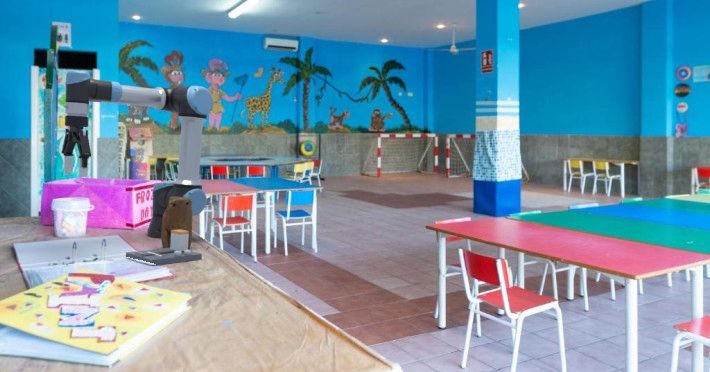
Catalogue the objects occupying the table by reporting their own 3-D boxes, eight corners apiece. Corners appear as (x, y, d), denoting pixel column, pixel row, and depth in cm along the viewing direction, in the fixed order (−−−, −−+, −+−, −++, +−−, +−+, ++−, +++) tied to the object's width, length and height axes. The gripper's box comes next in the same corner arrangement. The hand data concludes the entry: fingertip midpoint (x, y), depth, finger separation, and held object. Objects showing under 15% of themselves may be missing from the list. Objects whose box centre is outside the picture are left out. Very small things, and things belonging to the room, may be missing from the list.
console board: (175, 252, 221) (175, 242, 221) (201, 259, 211) (201, 249, 211) (125, 258, 205) (125, 247, 205) (151, 266, 195) (151, 255, 195)
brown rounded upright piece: (187, 245, 235) (189, 196, 234) (192, 249, 229) (194, 198, 227) (159, 246, 229) (161, 196, 228) (164, 250, 223) (166, 198, 222)
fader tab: (179, 248, 216) (180, 229, 215) (187, 250, 213) (188, 231, 212) (170, 249, 213) (171, 230, 212) (178, 251, 209) (179, 232, 209)
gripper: (52, 114, 212) (51, 172, 214) (80, 114, 195) (78, 178, 197) (74, 115, 218) (72, 172, 219) (102, 116, 201) (100, 178, 202)
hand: (75, 175), depth 208 cm, fingers open, 13 cm apart
